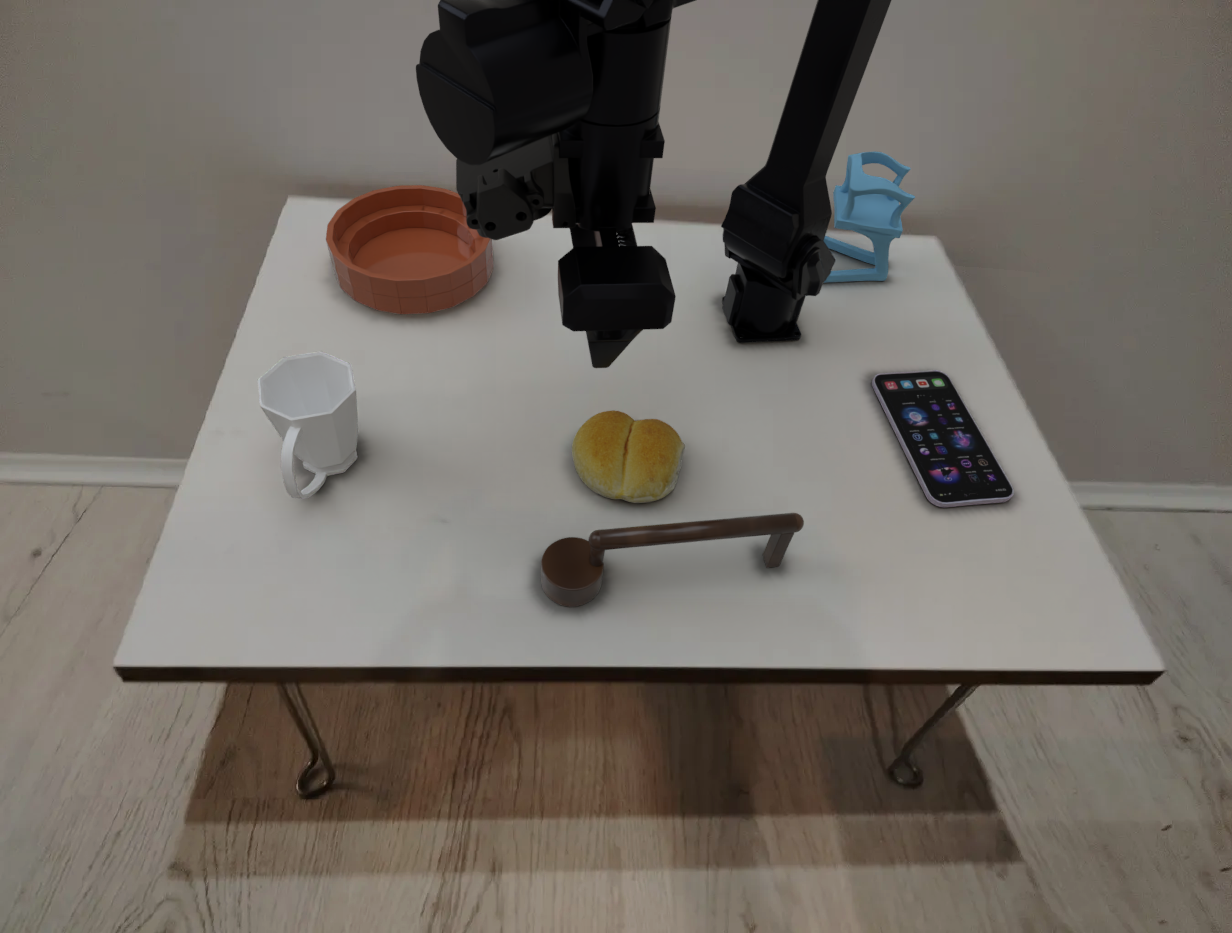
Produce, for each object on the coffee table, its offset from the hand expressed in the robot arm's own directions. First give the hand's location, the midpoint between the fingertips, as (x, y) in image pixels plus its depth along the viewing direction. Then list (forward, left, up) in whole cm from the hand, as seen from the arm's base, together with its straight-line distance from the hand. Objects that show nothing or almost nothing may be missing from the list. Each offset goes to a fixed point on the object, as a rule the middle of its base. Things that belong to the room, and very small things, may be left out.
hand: (592, 320), depth 55 cm
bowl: (+14, -24, -13) cm, 31 cm away
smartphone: (-31, +2, -13) cm, 34 cm away
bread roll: (-3, +3, -13) cm, 14 cm away
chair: (-31, -22, -13) cm, 41 cm away
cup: (+21, +1, -13) cm, 25 cm away
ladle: (-4, +13, -13) cm, 19 cm away
